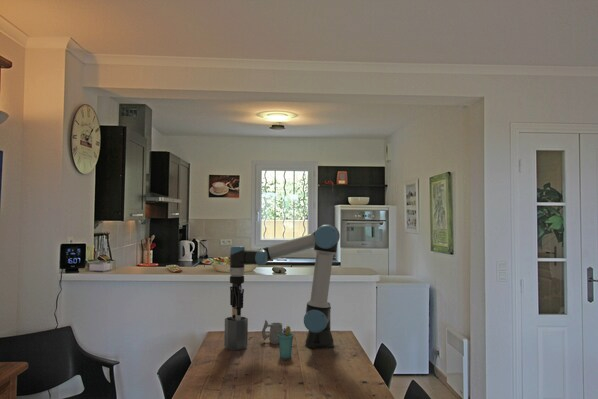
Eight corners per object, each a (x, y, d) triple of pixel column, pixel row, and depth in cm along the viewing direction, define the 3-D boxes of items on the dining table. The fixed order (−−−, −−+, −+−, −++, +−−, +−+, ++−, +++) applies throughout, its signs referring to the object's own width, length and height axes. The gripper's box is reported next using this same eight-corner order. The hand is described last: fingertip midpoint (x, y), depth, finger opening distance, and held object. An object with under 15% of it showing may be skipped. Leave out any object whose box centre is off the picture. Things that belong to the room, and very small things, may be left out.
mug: (284, 343, 251) (284, 321, 252) (262, 344, 250) (262, 321, 250) (282, 340, 259) (282, 318, 260) (261, 340, 257) (261, 318, 258)
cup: (291, 362, 218) (291, 329, 219) (275, 361, 219) (275, 329, 219) (294, 353, 232) (295, 323, 233) (279, 353, 233) (279, 322, 233)
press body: (250, 348, 240) (250, 319, 241) (229, 351, 235) (230, 321, 235) (238, 342, 253) (239, 314, 254) (219, 344, 247) (219, 316, 248)
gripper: (224, 274, 250) (223, 318, 248) (236, 277, 235) (236, 324, 234) (237, 273, 253) (236, 316, 252) (250, 276, 239) (249, 322, 238)
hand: (236, 320), depth 243 cm, fingers closed on plunger, 4 cm apart
